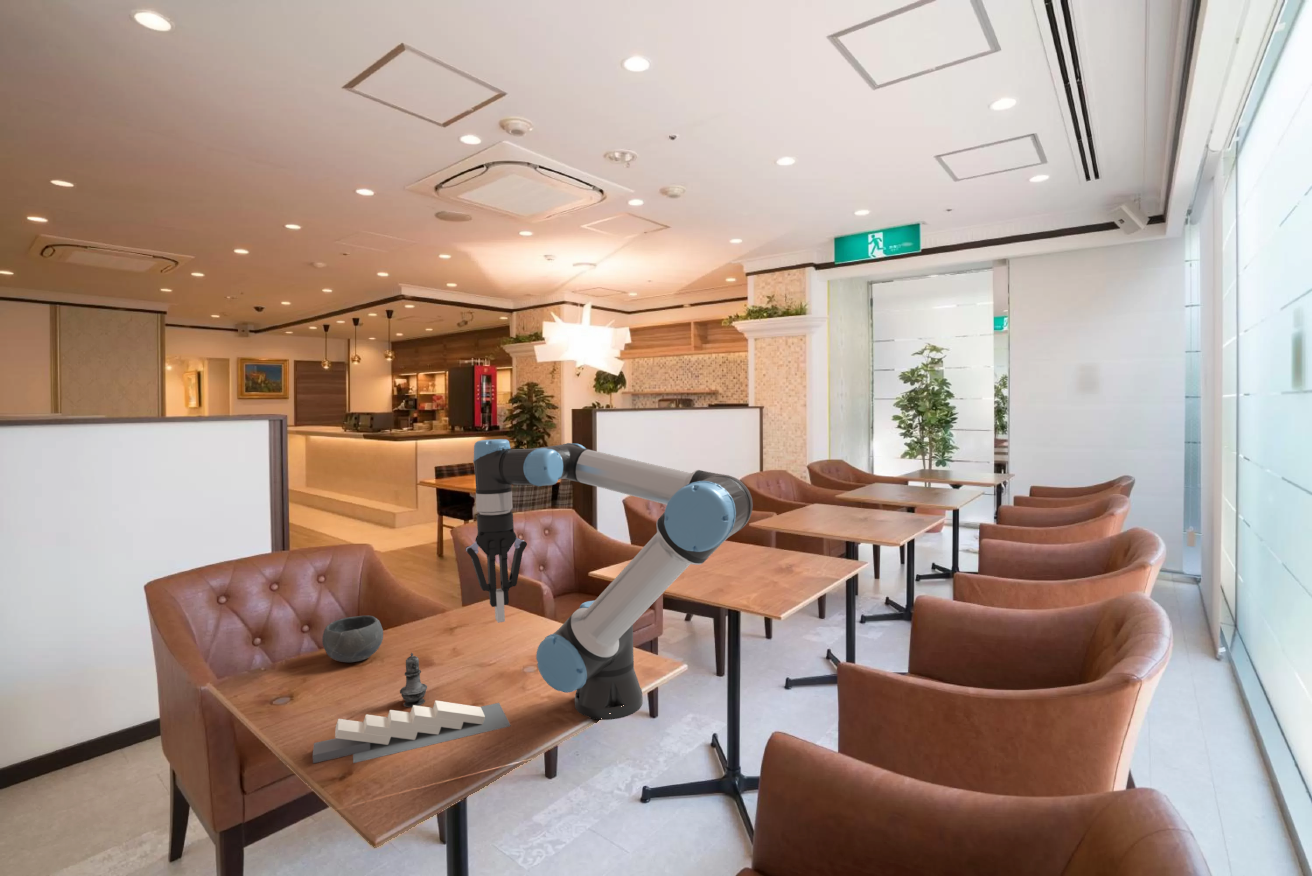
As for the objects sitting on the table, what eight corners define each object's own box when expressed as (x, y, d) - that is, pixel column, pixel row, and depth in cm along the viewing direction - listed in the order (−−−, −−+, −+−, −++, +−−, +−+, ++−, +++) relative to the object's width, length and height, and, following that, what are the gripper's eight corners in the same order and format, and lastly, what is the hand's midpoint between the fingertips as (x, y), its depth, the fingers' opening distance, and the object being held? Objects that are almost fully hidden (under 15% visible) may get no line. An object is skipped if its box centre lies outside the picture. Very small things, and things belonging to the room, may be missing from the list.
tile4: (415, 721, 137) (366, 714, 132) (417, 732, 132) (366, 725, 128) (412, 729, 136) (363, 722, 132) (414, 740, 132) (363, 733, 128)
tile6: (369, 731, 133) (314, 743, 129) (369, 742, 128) (312, 755, 124) (369, 738, 133) (314, 751, 129) (370, 750, 128) (313, 763, 124)
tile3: (438, 716, 138) (390, 709, 134) (441, 727, 134) (391, 720, 130) (435, 724, 138) (387, 717, 134) (438, 734, 134) (388, 728, 130)
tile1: (480, 707, 142) (435, 700, 138) (485, 717, 138) (438, 710, 134) (478, 714, 142) (432, 707, 138) (482, 724, 138) (435, 718, 133)
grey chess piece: (401, 712, 145) (398, 659, 144) (400, 701, 150) (397, 650, 150) (429, 706, 147) (426, 654, 147) (426, 696, 153) (424, 646, 152)
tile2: (459, 711, 140) (413, 705, 136) (463, 721, 136) (415, 715, 132) (457, 719, 140) (410, 712, 136) (460, 729, 136) (412, 723, 132)
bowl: (389, 660, 175) (388, 624, 174) (328, 675, 166) (326, 636, 166) (378, 644, 187) (376, 610, 186) (320, 657, 179) (318, 621, 178)
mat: (499, 704, 147) (499, 702, 147) (510, 727, 137) (510, 726, 137) (353, 736, 135) (353, 734, 135) (353, 765, 124) (353, 763, 124)
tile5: (389, 725, 134) (338, 718, 130) (390, 736, 130) (338, 729, 126) (386, 733, 134) (335, 726, 130) (388, 744, 130) (335, 738, 126)
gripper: (520, 506, 145) (525, 610, 147) (460, 512, 140) (466, 620, 141) (529, 511, 139) (534, 620, 140) (466, 517, 133) (472, 631, 134)
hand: (500, 620), depth 140 cm, fingers closed
